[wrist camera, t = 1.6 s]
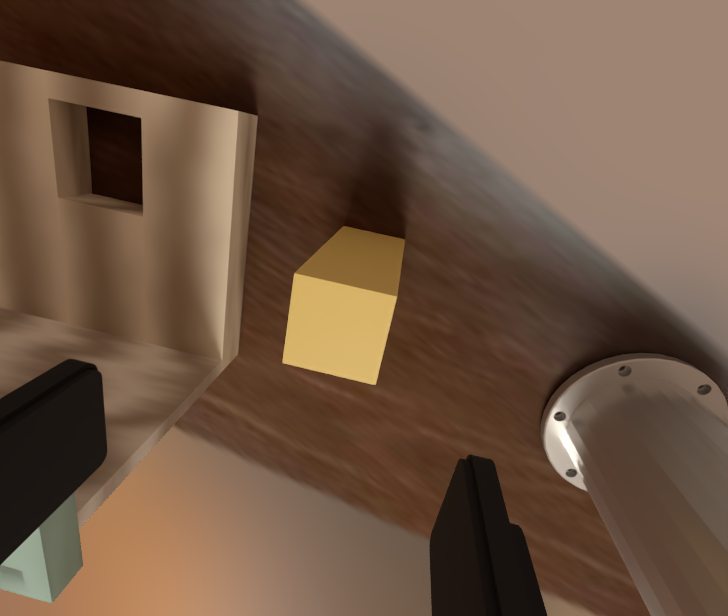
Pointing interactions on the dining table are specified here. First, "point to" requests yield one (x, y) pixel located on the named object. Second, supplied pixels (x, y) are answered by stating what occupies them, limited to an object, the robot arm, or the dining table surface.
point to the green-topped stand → (116, 274)
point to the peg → (344, 305)
